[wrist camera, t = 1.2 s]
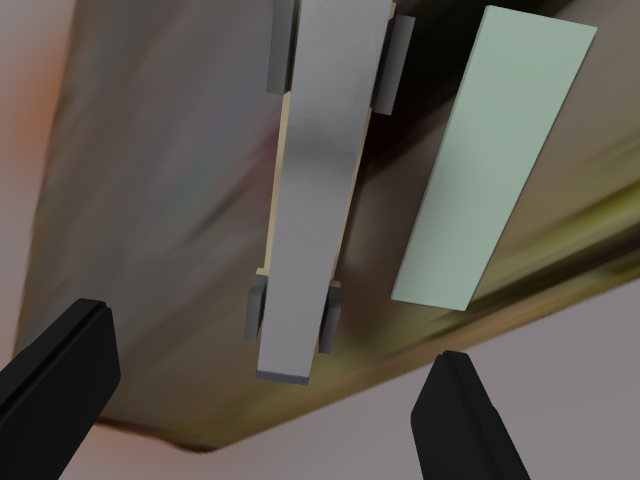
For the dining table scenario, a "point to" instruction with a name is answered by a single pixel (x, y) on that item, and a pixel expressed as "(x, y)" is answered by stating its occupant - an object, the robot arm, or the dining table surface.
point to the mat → (488, 151)
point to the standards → (281, 83)
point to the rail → (317, 173)
